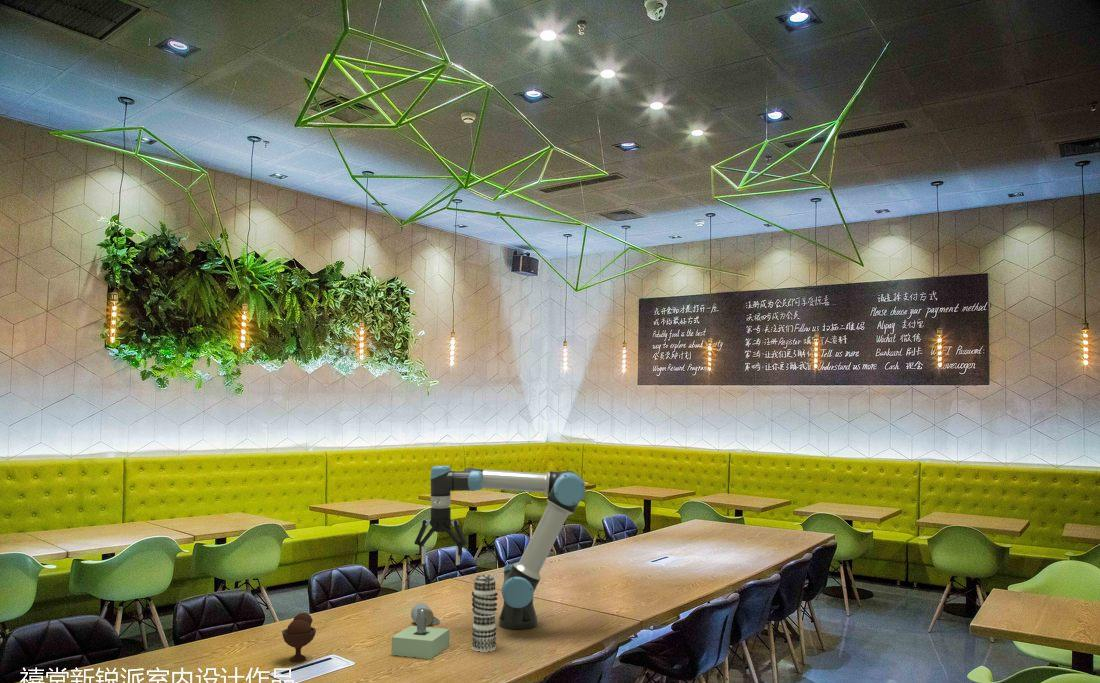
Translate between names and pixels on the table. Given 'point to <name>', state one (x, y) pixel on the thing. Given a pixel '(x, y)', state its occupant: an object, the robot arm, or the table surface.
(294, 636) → the ice cream bowl
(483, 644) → the decorative candle
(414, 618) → the ceramic mug
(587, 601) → the table surface
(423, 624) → the pin
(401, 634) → the socket block
